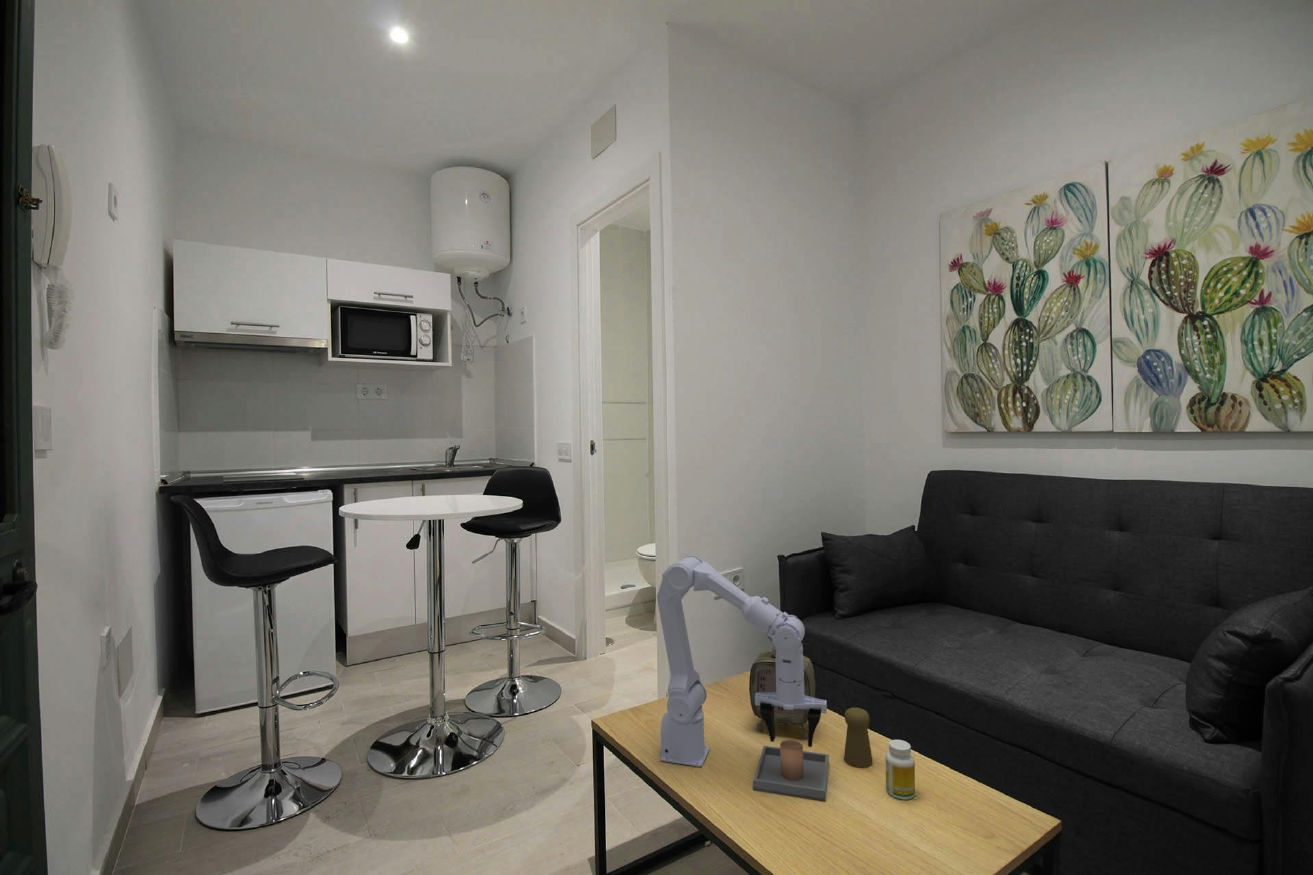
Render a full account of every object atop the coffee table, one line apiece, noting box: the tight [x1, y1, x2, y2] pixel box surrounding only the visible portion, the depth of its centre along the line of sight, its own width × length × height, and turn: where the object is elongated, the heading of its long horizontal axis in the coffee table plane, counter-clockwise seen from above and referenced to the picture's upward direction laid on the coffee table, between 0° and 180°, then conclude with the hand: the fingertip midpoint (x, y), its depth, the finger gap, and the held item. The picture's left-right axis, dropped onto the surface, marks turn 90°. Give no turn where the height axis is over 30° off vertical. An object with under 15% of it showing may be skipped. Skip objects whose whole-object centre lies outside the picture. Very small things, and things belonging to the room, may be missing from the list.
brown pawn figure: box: [843, 707, 874, 769], centre depth 132 cm, size 6×6×11 cm
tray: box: [752, 745, 830, 802], centre depth 127 cm, size 14×14×2 cm
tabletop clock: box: [748, 634, 816, 739], centre depth 147 cm, size 14×9×25 cm, turn 67°
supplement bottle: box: [884, 739, 916, 801], centre depth 120 cm, size 5×5×10 cm
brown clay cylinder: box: [779, 739, 804, 780], centre depth 127 cm, size 5×5×6 cm
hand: (791, 741), depth 127 cm, fingers open, 7 cm apart
